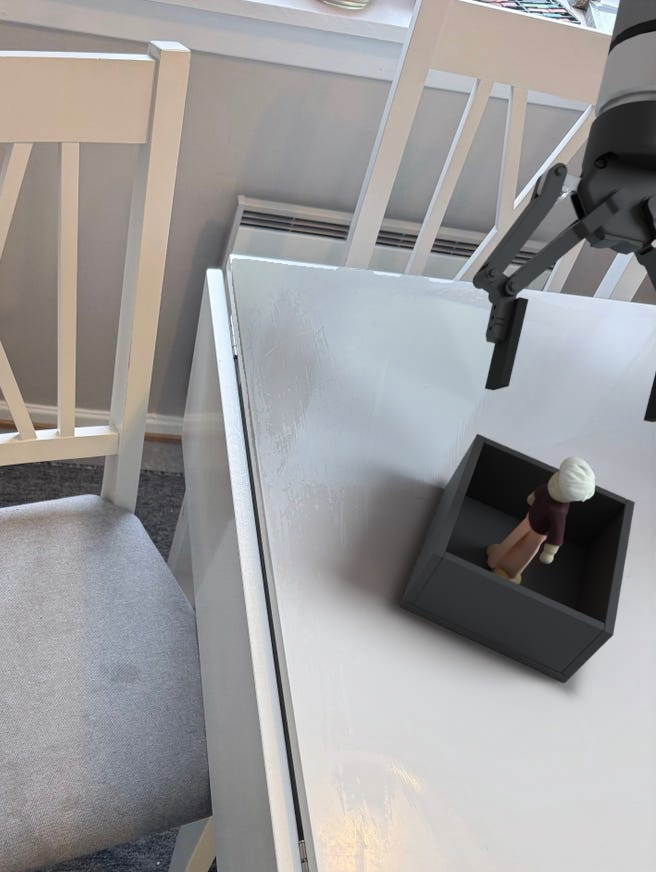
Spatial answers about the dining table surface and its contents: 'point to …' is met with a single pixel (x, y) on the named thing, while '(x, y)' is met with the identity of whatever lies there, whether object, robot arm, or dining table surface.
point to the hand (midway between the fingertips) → (577, 404)
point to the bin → (540, 583)
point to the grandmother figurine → (543, 520)
